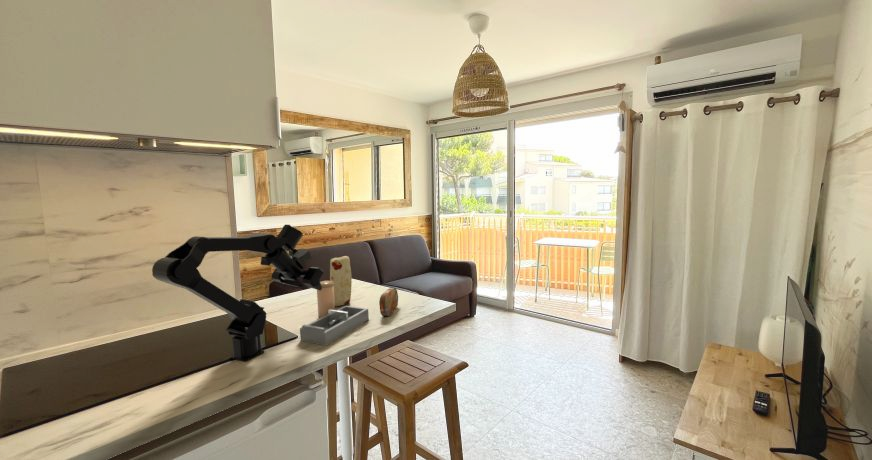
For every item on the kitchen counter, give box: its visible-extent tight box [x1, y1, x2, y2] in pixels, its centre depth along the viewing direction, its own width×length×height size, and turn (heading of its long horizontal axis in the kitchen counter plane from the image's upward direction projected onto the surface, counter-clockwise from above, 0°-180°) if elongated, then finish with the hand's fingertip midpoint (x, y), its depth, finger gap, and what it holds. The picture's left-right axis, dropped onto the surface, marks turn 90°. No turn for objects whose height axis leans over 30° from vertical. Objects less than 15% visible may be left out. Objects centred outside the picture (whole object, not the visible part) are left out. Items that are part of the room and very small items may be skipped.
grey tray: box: [299, 305, 370, 346], centre depth 122 cm, size 23×10×5 cm, turn 157°
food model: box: [329, 255, 353, 307], centre depth 147 cm, size 10×7×20 cm
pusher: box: [328, 309, 348, 326], centre depth 121 cm, size 5×7×5 cm
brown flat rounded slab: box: [379, 287, 399, 317], centre depth 138 cm, size 15×3×8 cm, turn 168°
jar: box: [316, 280, 336, 319], centre depth 133 cm, size 6×6×13 cm
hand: (311, 287), depth 125 cm, fingers open, 9 cm apart
